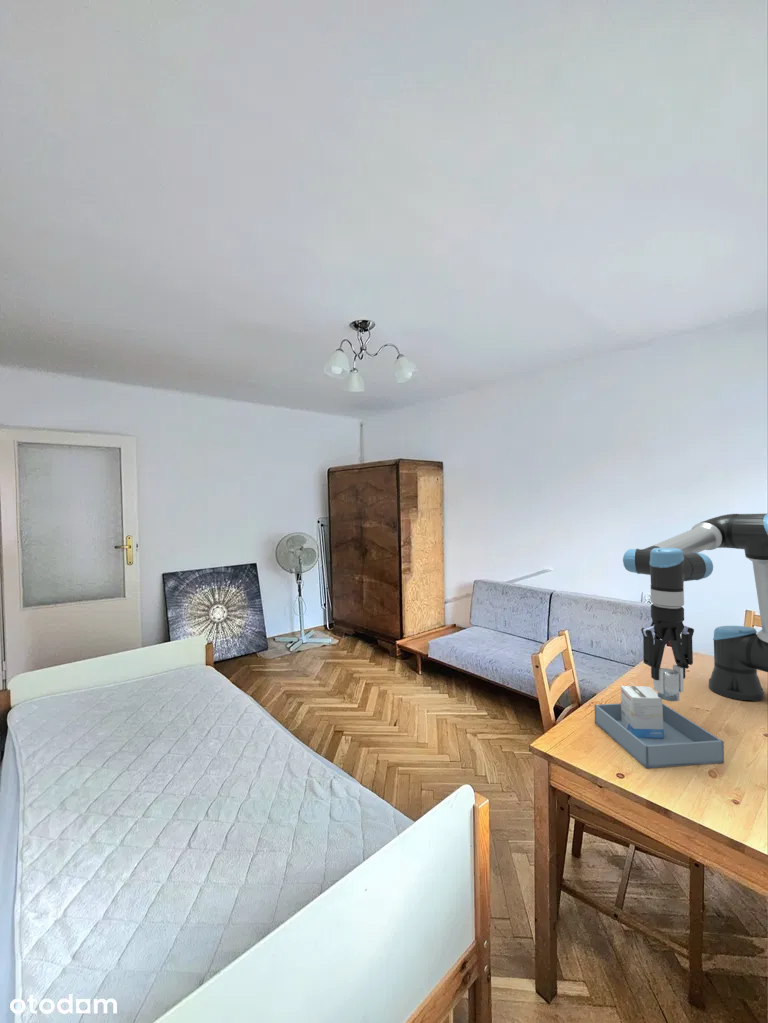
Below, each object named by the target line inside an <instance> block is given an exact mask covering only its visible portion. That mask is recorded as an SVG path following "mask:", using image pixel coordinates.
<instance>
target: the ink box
mask: <svg viewBox="0 0 768 1023" xmlns="http://www.w3.org/2000/svg"><path fill="white" fill-rule="evenodd" d="M631 685H632V686H631ZM631 685H620V703H621V716H622V724H623V725H624V726H625V728H626V729H627V730H628V731H630V732H631V733H632V734H633V735H635V736H636V737H637V738H664V731H663V708H662V703H663V699H661V698H659V697H658V696H657V691H656V690H654V689H653V688H652V687H650V686H641V685H640V686H639V685H635V684H634V683H633V682H631Z"/></svg>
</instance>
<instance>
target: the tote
mask: <svg viewBox="0 0 768 1023" xmlns="http://www.w3.org/2000/svg"><path fill="white" fill-rule="evenodd" d="M662 708H663V731H664V738H637V737H636V736H635V735H633V734H632V733H631V732H630V731H628V730H627V729H626V728H625V726H624V725H623V724H622V716H621V702H620V703H618V702H617V703H603V704H594V724H596V725H597V726H598V728H600V729H601V730H602V731H603V732H604V733H606V734H607V735H608V736H609V737H610V738H611V739H613V740H614V741H615V742H616V743H617V744H618V745H619V746H621V747H622V749H624V750H625V751H626V752H627V753H628V754H629V755H631V756H632V757H633V758H634V759H636V761H637V762H639V763H640V765H642V766H643V767H644V768H646V769H654V768H655V769H657V768H671V767H685V766H697V765H698V766H699V765H711V764H712V765H713V764H724V763H725V757H724V756H725V752H724V749H725V748H724V747H725V746H724V741H723V740H722V739H721V738H719V737H717V736H716V735H715V734H713V733H711V732H709V731H707V730H706V729H705V728H703V727H702V726H700V725H699V724H697V723H695V722H693V721H692V720H690V719H689V718H687V717H685V716H684V715H682V713H679V712H677V711H676V710H674V709H673V708H671V707H670V706H668V705H667V704H665V703H664V702H662Z"/></svg>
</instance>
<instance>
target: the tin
mask: <svg viewBox="0 0 768 1023" xmlns="http://www.w3.org/2000/svg"><path fill="white" fill-rule="evenodd" d="M661 668H662V669H663V688H664V693H663V694H661V693H659V692H657V691H656V693H657V696H658V697H659V698H661V699H662V700H665V701H668V702H678V701H680V692H679V672H677V671H675V670H673V668H668V667H661Z"/></svg>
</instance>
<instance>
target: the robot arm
mask: <svg viewBox="0 0 768 1023" xmlns="http://www.w3.org/2000/svg"><path fill="white" fill-rule="evenodd" d="M721 548H723V549H737V550H744V555H745V558H747V559H748V560H750V561H751V562H752V566H753V567H752V569H753V574H754V582H755V588H756V595H757V601H758V602H757V603H758V608H759V609H758V610H759V615H760V622H761V630H759V631H758V632H757V630H756V628H754V627H752V626H743V625H722V626H718V627H715V629H714V630H713V638H712V640H713V661H714V662H713V663H714V665H713V668H712V673H711V675H710V678H709V679H708V688H709V689H710V691H712V692H713V693H716V694H717V695H720V696H722V697H726V698H729V699H732V698H734V700H737V699H741V700H740V701H743V700H752V701H751V702H754V701H753V700H760V701H762V700H761V699H763V698H765V691H764V688H763V687H762V684H761V681H760V679H759V675H758V674H757V673H758V672H757V671H762V672H765V673H768V513H729V514H723V515H719V516H715V517H711V518H709V519H706V520H703V521H700V522H699V523H696V524H694V525H693V526H692V527H691V529H689V530H687V531H685V532H684V531H683V532H682V533H680V534H677V535H675V536H672V537H669V538H668V539H665V540H663V541H660V542H658V543H655V544H653V545H650V546H648V547H645V548H643V549H640V548H631V549H630V548H629V549H628V550H626V551H625V553H624V554H623V556H622V557H623V558H622V562H623V567H624V568H625V570H626V571H628V572H630V573H634V574H635V573H636V574H637V575H647V576H650V577H649V578H650V602H651V603H652V604H651V605H650V618H651V620H652V622H651V624H650V626H649V627H647V628H645V627H642V628H641V629H640V630H641V634H642V636H643V637H642V638H643V640H642V641H643V642H642V644H643V646H642V647H643V654H642V657H643V663H644V664H645V665H647V666H649V667H650V674H651V675H650V676H651V679H653V690H654V691H655V692H656V693H657V692H659V693H661V694H663V693H664V688H663V669H662V668H663V667H662V666H661V664H662V661H663V656H664V652H665V647H666V645H668V642H669V643H670V647H671V650H672V654H673V658H674V662H675V664H672V670H675V671H677V672H679V693H684V680H685V678H686V670H687V669H689V668H690V666H692V665H693V663H694V660H693V659H694V658H693V654H694V653H693V636H694V633H695V629H694V628H692V627H689V626H686V625H685V624H684V621H685V608H684V607H683V606H684V605H685V592H684V590H685V589H684V588H685V587H684V586H685V585H684V582H689V581H699V580H702V579H703V580H704V579H706V578H708V577H709V576H710V575H712V573H713V571H714V563H713V561H712V560H711V558H710V557H709V556H708V555H706V554H704V553H702V552H703V551H705V550H706V551H712V550H716V549H721ZM689 665H690V666H689ZM763 700H764V699H763Z"/></svg>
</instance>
